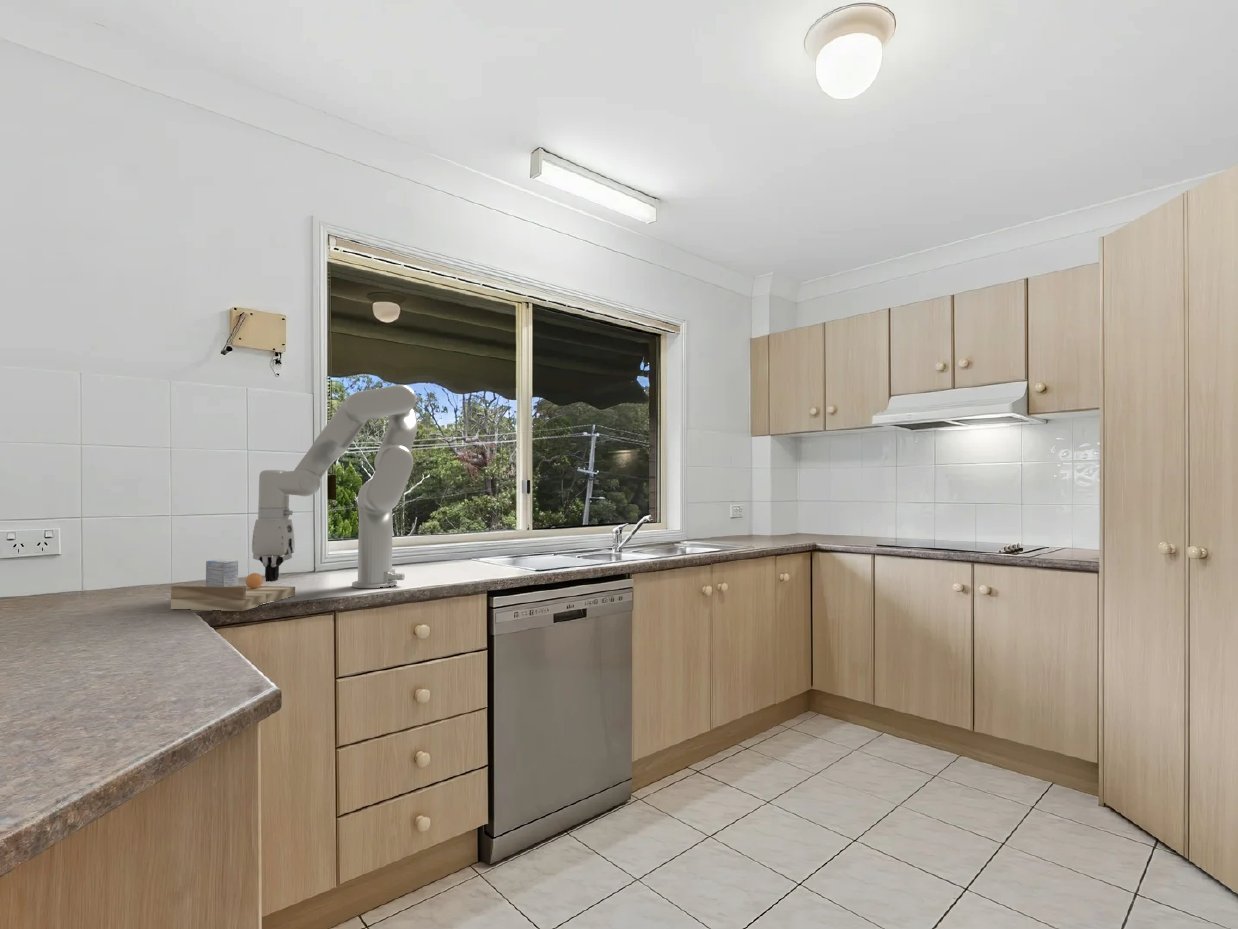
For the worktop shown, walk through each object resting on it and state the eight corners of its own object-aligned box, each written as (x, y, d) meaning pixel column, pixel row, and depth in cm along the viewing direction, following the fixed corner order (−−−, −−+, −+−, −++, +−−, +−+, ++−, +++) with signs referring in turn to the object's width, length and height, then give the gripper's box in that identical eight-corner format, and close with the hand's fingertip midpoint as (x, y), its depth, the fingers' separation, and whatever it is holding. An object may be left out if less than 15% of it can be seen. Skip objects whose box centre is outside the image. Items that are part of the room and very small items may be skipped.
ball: (265, 587, 177) (266, 572, 178) (256, 589, 173) (256, 574, 174) (251, 587, 178) (251, 572, 178) (242, 589, 174) (242, 574, 174)
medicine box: (238, 591, 187) (239, 560, 187) (223, 593, 183) (224, 561, 183) (220, 589, 190) (220, 558, 191) (204, 591, 186) (205, 560, 187)
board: (231, 594, 180) (231, 574, 180) (295, 596, 179) (295, 575, 179) (170, 609, 158) (171, 586, 158) (242, 611, 157) (243, 587, 157)
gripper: (306, 514, 187) (305, 579, 187) (256, 513, 189) (254, 578, 188) (291, 515, 180) (289, 583, 179) (239, 514, 181) (237, 582, 180)
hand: (271, 580), depth 184 cm, fingers closed
